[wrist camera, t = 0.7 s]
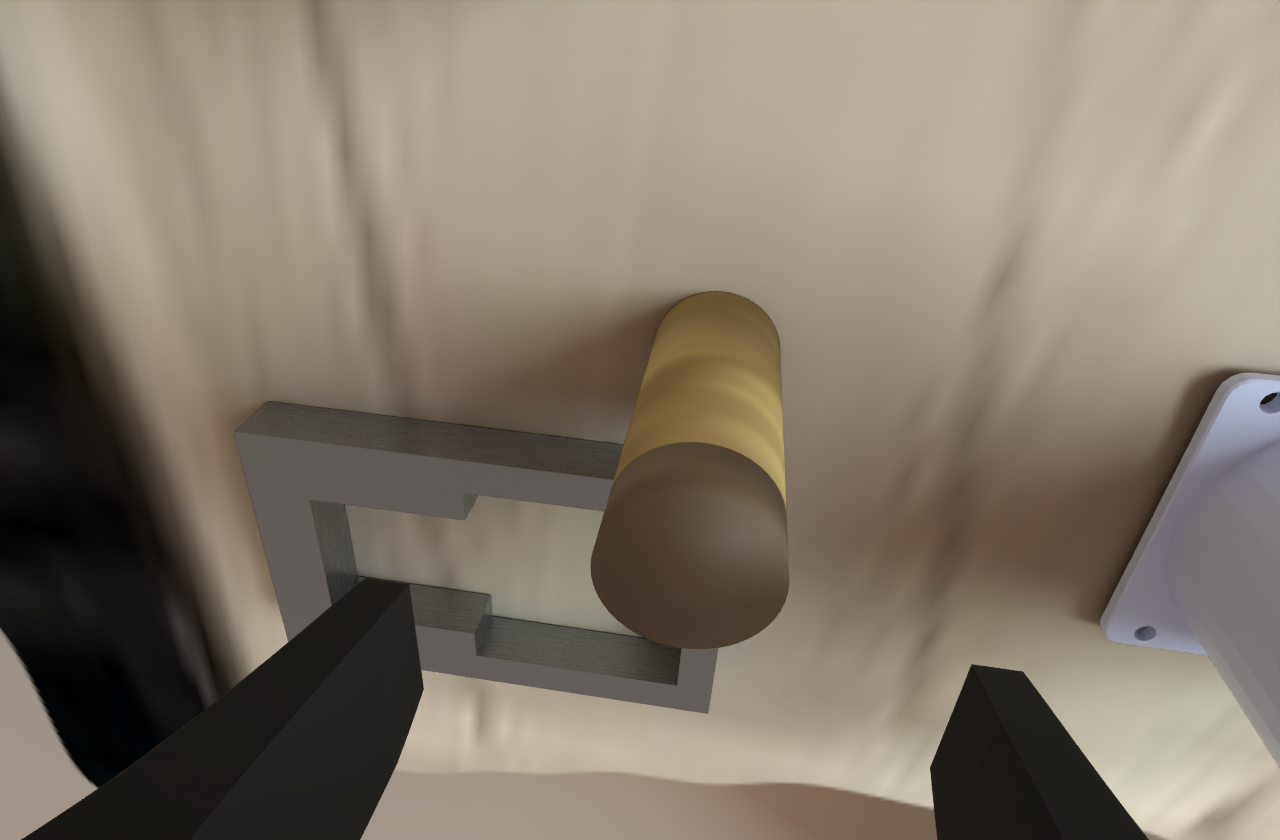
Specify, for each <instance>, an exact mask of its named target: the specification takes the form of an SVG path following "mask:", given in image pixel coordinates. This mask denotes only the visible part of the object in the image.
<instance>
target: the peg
mask: <svg viewBox="0 0 1280 840" xmlns="http://www.w3.org/2000/svg"><path fill="white" fill-rule="evenodd" d="M591 576H592V581H593V585H594V587H595V590H596V592H597V595H598V596H599V598H600V600H601V602H602V603H603V604H604V606H605V607H606V608H607V610H608V611H609V612H610V613H611V614H612V615H613V616H614V617H615V618H616V619H617V620H618V621H619V622H621V623H622V624H623V625H624V626H626V627H627V628H629V629H630V630H632V631H633V632H635V633H637V634H639V635H641V636H643V637H645V638H647V639H650V640H652V641H655V642H657V643H661V644H664V645H668V646H673V647H678V648H686V649H712V648H719V647H725V646H729V645H733V644H736V643H739V642H741V641H744V640H746V639H748V638H750V637H752V636H754V635H756V634H757V633H759V632H760V631H762V630H763V629H764V628H766V627H767V626H768V625H769V624H770V623H771V622H772V621H773V620H774V619H775V618H776V616H777V615H778V613H779V612H780V611H781V609H782V607H783V605H784V603H785V600H786V597H787V593H788V587H789V569H788V542H787V516H786V490H785V463H784V437H783V410H782V384H781V358H780V341H779V336H778V333H777V330H776V327H775V326H774V324H773V322H772V320H771V319H770V317H769V316H768V315H767V313H766V312H765V311H764V310H763V309H762V308H760V307H759V306H758V305H757V304H755V303H754V302H752V301H751V300H749V299H747V298H745V297H742V296H740V295H737V294H733V293H728V292H719V291H713V292H704V293H699V294H696V295H693V296H690V297H688V298H686V299H684V300H682V301H681V302H679V303H678V304H676V305H675V306H674V307H673V308H672V309H671V310H670V311H669V312H668V313H667V314H666V315H665V317H664V318H663V320H662V321H661V323H660V325H659V328H658V330H657V334H656V337H655V340H654V344H653V347H652V351H651V354H650V358H649V361H648V364H647V368H646V371H645V375H644V378H643V382H642V385H641V388H640V392H639V395H638V399H637V402H636V406H635V409H634V412H633V416H632V419H631V423H630V426H629V430H628V433H627V436H626V440H625V443H624V447H623V450H622V454H621V457H620V460H619V464H618V467H617V471H616V474H615V478H614V481H613V484H612V488H611V491H610V495H609V498H608V502H607V505H606V508H605V512H604V515H603V519H602V522H601V526H600V529H599V532H598V536H597V539H596V543H595V546H594V550H593V553H592V558H591Z"/></svg>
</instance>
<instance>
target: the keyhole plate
mask: <svg viewBox="0 0 1280 840" xmlns="http://www.w3.org/2000/svg"><path fill="white" fill-rule="evenodd" d="M234 435H235V439H236V443H237V447H238V451H239V455H240V458H241V462H242V466H243V470H244V474H245V478H246V481H247V485H248V489H249V493H250V497H251V501H252V504H253V508H254V512H255V516H256V520H257V524H258V527H259V531H260V535H261V539H262V543H263V547H264V550H265V554H266V558H267V562H268V566H269V570H270V573H271V577H272V581H273V585H274V589H275V593H276V596H277V600H278V604H279V608H280V612H281V616H282V619H283V623H284V627H285V631H286V635H287V639H288V642H289V641H290V640H292V639H293V638H294V637H295V636H296V635H297V634H299V633H300V632H301V631H302V630H303V629H305V628H306V627H307V626H308V625H309V624H310V623H312V622H313V621H314V620H315V619H316V618H317V617H319V616H320V615H321V614H322V613H323V612H325V611H326V610H327V609H328V608H329V607H330V606H332V605H333V604H334V603H335V602H336V601H337V600H339V599H340V598H341V597H342V596H343V595H345V594H346V593H347V592H348V591H349V590H351V589H352V588H353V587H354V586H355V585H357V584H358V583H359V582H361V581H362V580H363V579H365V578H366V577H359V576H358V575H357V570H356V565H355V559H354V554H353V548H352V543H351V537H350V532H349V526H348V521H347V515H346V510H345V504H346V505H354V506H361V507H369V508H376V509H384V510H391V511H399V512H406V513H414V514H421V515H428V516H436V517H443V518H451V519H458V520H465V519H466V518H467V516H468V514H469V512H470V510H471V508H472V506H473V505H474V503H475V501H476V499H477V497H478V495H484V496H491V497H499V498H507V499H514V500H522V501H529V502H537V503H545V504H552V505H560V506H568V507H575V508H583V509H591V510H598V511H605V508H606V505H607V502H608V498H609V495H610V491H611V488H612V484H613V481H614V478H615V474H616V471H617V467H618V464H619V460H620V457H621V454H622V450H623V447H624V445H621V444H612V443H604V442H596V441H588V440H580V439H571V438H563V437H555V436H547V435H539V434H531V433H522V432H514V431H506V430H498V429H490V428H482V427H473V426H465V425H457V424H449V423H441V422H433V421H424V420H416V419H408V418H400V417H392V416H384V415H375V414H367V413H359V412H351V411H343V410H334V409H326V408H318V407H310V406H302V405H294V404H285V403H277V402H269V401H268V402H267V403H265V404H264V405H263V406H262V407H261V408H260V409H259V410H258V411H256V412H255V413H254V414H253V415H252V416H251V417H250V418H249V419H247V420H246V421H245V422H244V423H243V424H242V425H241V426H240V427H238V428H237V429H236V430H235V431H234ZM370 579H373V578H370ZM377 580H380V579H377ZM384 581H387V580H384ZM391 582H394V581H391ZM398 583H401V582H398ZM405 584H408V583H405ZM409 586H410V593H411V600H412V607H413V615H414V622H415V629H416V636H417V644H418V651H419V658H420V665H421V670H426V671H433V672H439V673H446V674H452V675H459V676H465V677H472V678H478V679H485V680H492V681H498V682H505V683H511V684H518V685H524V686H531V687H537V688H544V689H550V690H557V691H563V692H570V693H576V694H583V695H589V696H596V697H603V698H609V699H616V700H622V701H629V702H635V703H642V704H648V705H655V706H661V707H668V708H674V709H681V710H687V711H694V712H701V713H707V714H708V711H709V705H710V698H711V692H712V685H713V678H714V672H715V665H716V659H717V652H718V648H712V649H686V648H678V647H673V646H668V645H664V644H661V643H657V642H655V641H652V640H650V639H645V638H638V637H631V636H624V635H617V634H610V633H603V632H597V631H590V630H583V629H576V628H569V627H562V626H555V625H548V624H541V623H535V622H528V621H521V620H514V619H507V618H500V617H493V616H492V603H491V595H485V594H478V593H471V592H464V591H457V590H450V589H443V588H436V587H429V586H422V585H415V584H409Z"/></svg>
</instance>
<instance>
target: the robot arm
mask: <svg viewBox="0 0 1280 840" xmlns="http://www.w3.org/2000/svg"><path fill="white" fill-rule="evenodd" d="M1276 392H1277V396H1276V397H1275V398H1274V399H1273V400H1272V401H1270V402H1268V403H1266V404H1261V405H1260V402H1261V401H1262V399H1263V398H1264V397H1265V396H1267V395H1269V394H1271V393H1276ZM1100 626H1101V628H1102V630H1103V632H1104V634H1105V636H1106V638H1108V639H1109V640H1110V641H1113V642H1117V643H1123V644H1130V645H1137V646H1144V647H1152V648H1159V649H1166V650H1173V651H1181V652H1188V653H1195V654H1202V655H1208V657H1209V658H1210V660H1211V661H1212V663H1213V664H1214V666H1215V668H1216V669H1217V671H1218V672H1219V674H1220V675H1221V677H1222V679H1223V680H1224V682H1225V683H1226V685H1227V686H1228V688H1229V690H1230V691H1231V693H1232V694H1233V696H1234V697H1235V699H1236V701H1237V702H1238V704H1239V705H1240V707H1241V708H1242V710H1243V712H1244V713H1245V715H1246V716H1247V718H1248V719H1249V721H1250V723H1251V724H1252V726H1253V727H1254V729H1255V730H1256V732H1257V734H1258V735H1259V737H1260V738H1261V740H1262V741H1263V743H1264V745H1265V746H1266V748H1267V749H1268V751H1269V753H1270V754H1271V756H1272V757H1273V759H1274V760H1275V762H1276V764H1277V765H1278V767H1279V768H1280V375H1270V374H1261V373H1240V374H1237V375H1234V376H1231V377H1230V378H1228V379H1227V380H1225V381H1224V382H1222V384H1221V385H1220V386H1219V388H1218V389H1217V390H1216V392H1215V394H1214V396H1213V398H1212V400H1211V402H1210V404H1209V406H1208V408H1207V410H1206V412H1205V414H1204V416H1203V418H1202V420H1201V422H1200V424H1199V426H1198V428H1197V430H1196V432H1195V434H1194V436H1193V438H1192V440H1191V442H1190V444H1189V445H1188V447H1187V449H1186V451H1185V453H1184V455H1183V457H1182V459H1181V461H1180V463H1179V465H1178V467H1177V469H1176V471H1175V473H1174V475H1173V477H1172V479H1171V481H1170V483H1169V485H1168V487H1167V489H1166V491H1165V493H1164V495H1163V497H1162V499H1161V501H1160V503H1159V505H1158V507H1157V509H1156V511H1155V513H1154V515H1153V516H1152V518H1151V520H1150V522H1149V524H1148V526H1147V528H1146V530H1145V532H1144V534H1143V536H1142V538H1141V540H1140V542H1139V544H1138V546H1137V548H1136V550H1135V552H1134V554H1133V556H1132V558H1131V560H1130V562H1129V564H1128V566H1127V568H1126V570H1125V572H1124V574H1123V576H1122V578H1121V580H1120V582H1119V584H1118V586H1117V587H1116V589H1115V591H1114V593H1113V595H1112V597H1111V599H1110V601H1109V603H1108V605H1107V607H1106V609H1105V611H1104V613H1103V615H1102V617H1101V620H1100ZM1144 626H1147V627H1146V628H1143V629H1139V628H1141V627H1144ZM1137 629H1139V630H1137ZM423 690H424V687H423V680H422V673H421V665H420V658H419V651H418V644H417V636H416V629H415V622H414V615H413V607H412V600H411V593H410V586H409V584H405V583H398V582H391V581H384V580H377V579H370V578H365V579H363V580H362V581H361V582H359V583H358V584H357V585H355V586H354V587H353V588H352V589H351V590H349V591H348V592H347V593H346V594H345V595H343V596H342V597H341V598H340V599H339V600H337V601H336V602H335V603H334V604H333V605H332V606H330V607H329V608H328V609H327V610H326V611H325V612H323V613H322V614H321V615H320V616H319V617H317V618H316V619H315V620H314V621H313V622H312V623H310V624H309V625H308V626H307V627H306V628H305V629H303V630H302V631H301V632H300V633H299V634H297V635H296V636H295V637H294V638H293V639H292V640H290V641H289V642H288V643H287V644H286V645H284V646H283V647H282V648H281V649H280V650H278V651H277V652H276V653H275V654H274V655H272V656H271V657H270V658H269V659H268V660H266V661H265V662H264V663H263V664H261V665H260V666H259V667H258V668H257V669H255V670H254V671H253V672H252V673H250V674H249V675H248V676H247V677H245V678H244V679H243V680H242V681H241V682H239V683H238V684H237V685H236V686H234V687H233V688H232V689H231V690H229V691H228V692H227V693H226V694H224V695H223V696H222V697H221V698H220V699H218V700H217V701H216V702H214V703H213V704H212V705H211V706H209V707H208V708H207V709H206V710H204V711H203V712H202V713H200V714H199V715H198V716H196V717H195V718H194V719H192V720H191V721H190V722H188V723H187V724H186V725H184V726H183V727H182V728H180V729H179V730H178V731H176V732H175V733H174V734H172V735H171V736H170V737H168V738H167V739H166V740H164V741H163V742H162V743H160V744H159V745H158V746H156V747H155V748H154V749H152V750H151V751H150V752H148V753H147V754H146V755H145V756H143V757H142V758H141V759H139V760H138V761H136V762H135V763H134V764H132V765H131V766H129V767H128V768H127V769H125V770H124V771H122V772H121V773H120V774H118V775H117V776H115V777H114V778H113V779H111V780H110V781H108V782H107V783H105V784H104V785H103V786H101V787H100V788H98V789H97V790H95V791H94V792H93V793H91V794H90V795H88V796H87V797H85V798H84V799H82V800H81V801H79V802H78V803H76V804H75V805H73V806H72V807H70V808H69V809H67V810H66V811H64V812H63V813H61V814H60V815H58V816H57V817H55V818H54V819H52V820H51V821H49V822H48V823H46V824H45V825H43V826H42V827H40V828H39V829H37V830H36V831H34V832H32V833H31V834H29V835H28V836H26V837H25V838H23V839H21V840H360V839H361V836H362V835H363V833H364V831H365V829H366V827H367V825H368V823H369V821H370V819H371V817H372V815H373V813H374V811H375V808H376V806H377V804H378V802H379V800H380V798H381V796H382V794H383V792H384V790H385V788H386V786H387V784H388V782H389V780H390V777H391V775H392V773H393V771H394V769H395V767H396V765H397V763H398V760H399V757H400V755H401V752H402V749H403V746H404V744H405V741H406V738H407V736H408V733H409V730H410V727H411V725H412V722H413V719H414V716H415V713H416V710H417V707H418V704H419V701H420V699H421V696H422V693H423ZM930 772H931V782H932V792H933V803H934V812H935V821H936V830H937V838H938V840H1149V839H1148V838H1147V837H1146V835H1145V834H1144V833H1143V831H1142V830H1141V829H1140V828H1139V826H1138V825H1137V824H1136V823H1135V821H1134V820H1133V819H1132V817H1131V816H1130V815H1129V814H1128V812H1127V811H1126V810H1125V808H1124V807H1123V806H1122V804H1121V803H1120V802H1119V800H1118V799H1117V798H1116V797H1115V795H1114V794H1113V793H1112V791H1111V790H1110V789H1109V787H1108V786H1107V785H1106V783H1105V782H1104V781H1103V779H1102V778H1101V777H1100V775H1099V774H1098V772H1097V771H1096V770H1095V768H1094V767H1093V766H1092V764H1091V763H1090V762H1089V760H1088V759H1087V758H1086V756H1085V755H1084V754H1083V752H1082V751H1081V750H1080V748H1079V747H1078V745H1077V744H1076V743H1075V741H1074V740H1073V739H1072V737H1071V736H1070V735H1069V733H1068V732H1067V730H1066V729H1065V728H1064V726H1063V725H1062V724H1061V722H1060V721H1059V720H1058V718H1057V717H1056V715H1055V714H1054V713H1053V711H1052V710H1051V709H1050V707H1049V706H1048V704H1047V703H1046V702H1045V700H1044V699H1043V698H1042V696H1041V695H1040V694H1039V692H1038V691H1037V690H1036V688H1035V687H1034V686H1033V684H1032V683H1031V682H1030V680H1029V679H1028V678H1027V676H1026V675H1025V674H1024V672H1022V671H1015V670H1008V669H1001V668H994V667H987V666H980V665H971V667H970V670H969V672H968V675H967V677H966V680H965V682H964V685H963V687H962V690H961V692H960V695H959V697H958V700H957V702H956V705H955V707H954V710H953V712H952V715H951V717H950V720H949V722H948V725H947V727H946V730H945V732H944V735H943V737H942V740H941V742H940V744H939V747H938V749H937V752H936V754H935V757H934V759H933V762H932V764H931V767H930Z"/></svg>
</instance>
